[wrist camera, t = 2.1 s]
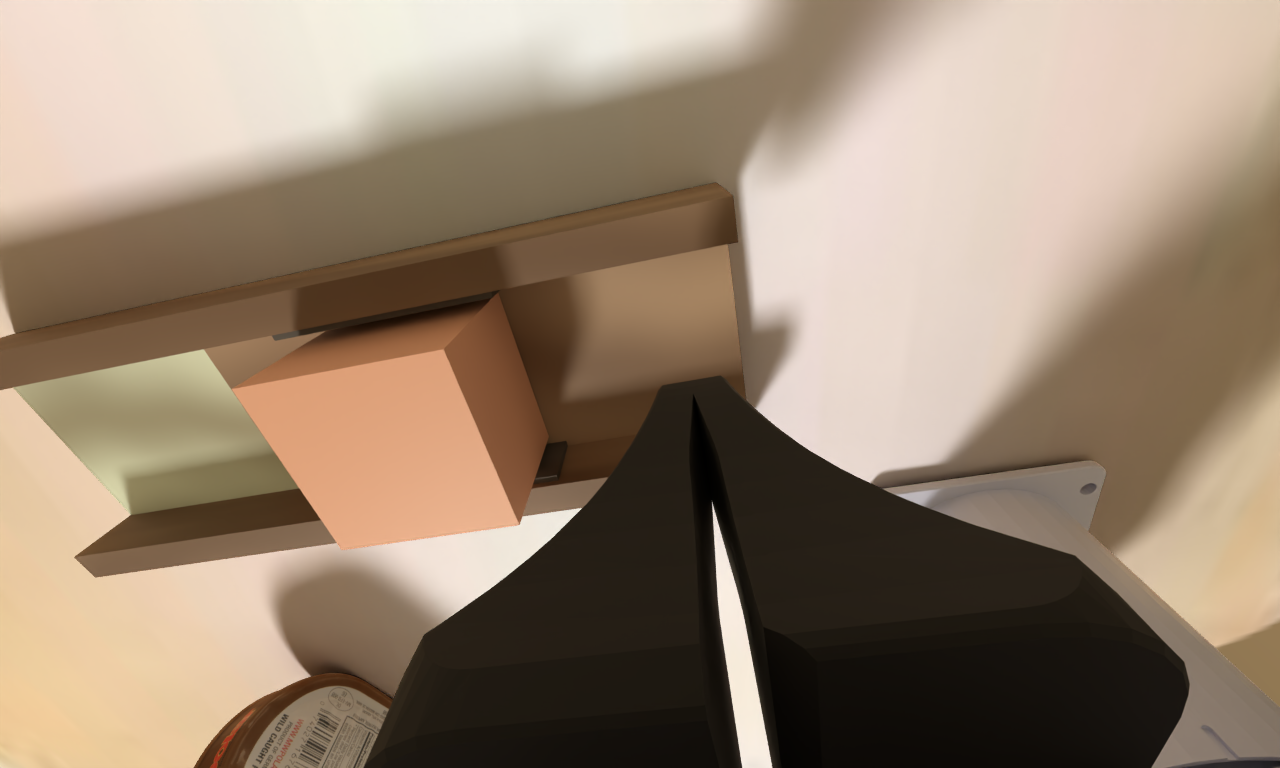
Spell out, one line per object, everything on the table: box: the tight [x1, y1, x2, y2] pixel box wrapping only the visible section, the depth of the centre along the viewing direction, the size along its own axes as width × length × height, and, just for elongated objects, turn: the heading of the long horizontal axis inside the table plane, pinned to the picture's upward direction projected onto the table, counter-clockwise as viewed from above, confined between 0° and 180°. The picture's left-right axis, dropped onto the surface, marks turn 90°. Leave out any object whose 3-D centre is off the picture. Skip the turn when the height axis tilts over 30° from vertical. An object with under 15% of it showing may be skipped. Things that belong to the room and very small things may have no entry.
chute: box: [0, 183, 746, 577], centre depth 15 cm, size 8×23×3 cm, turn 102°
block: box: [232, 293, 549, 550], centre depth 13 cm, size 5×5×4 cm
